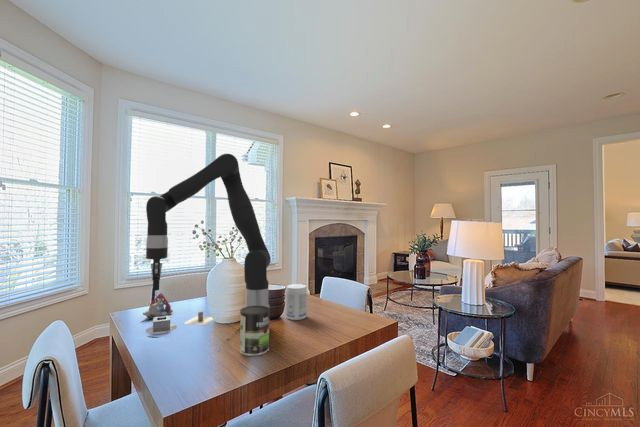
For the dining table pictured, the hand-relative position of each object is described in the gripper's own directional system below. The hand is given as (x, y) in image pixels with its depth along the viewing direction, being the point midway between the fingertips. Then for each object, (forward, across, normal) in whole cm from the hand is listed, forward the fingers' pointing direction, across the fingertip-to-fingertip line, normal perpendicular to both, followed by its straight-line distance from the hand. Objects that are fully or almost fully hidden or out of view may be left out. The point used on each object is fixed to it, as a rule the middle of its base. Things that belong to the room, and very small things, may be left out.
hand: (156, 290), depth 121 cm
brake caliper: (+18, +20, -1) cm, 27 cm away
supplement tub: (+17, -5, -58) cm, 61 cm away
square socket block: (+16, 0, -2) cm, 16 cm away
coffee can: (+17, -32, -32) cm, 48 cm away
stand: (+17, +4, -17) cm, 25 cm away
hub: (+17, 0, -2) cm, 17 cm away
